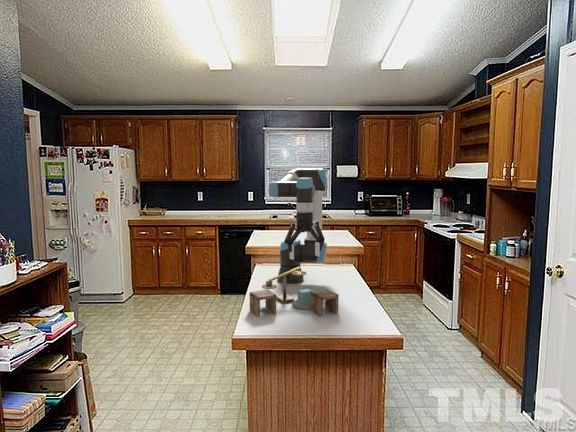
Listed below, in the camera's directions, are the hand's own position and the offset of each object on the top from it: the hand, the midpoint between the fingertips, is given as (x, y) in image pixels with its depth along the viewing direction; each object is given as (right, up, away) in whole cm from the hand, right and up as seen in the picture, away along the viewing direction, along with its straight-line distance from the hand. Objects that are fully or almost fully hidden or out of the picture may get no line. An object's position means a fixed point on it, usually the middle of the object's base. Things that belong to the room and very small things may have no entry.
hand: (304, 257), depth 184 cm
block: (0, -21, +2) cm, 22 cm away
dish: (0, -23, +2) cm, 23 cm away
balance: (-9, -22, +10) cm, 26 cm away
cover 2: (+8, -24, -7) cm, 26 cm away
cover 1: (-19, -24, -6) cm, 31 cm away
